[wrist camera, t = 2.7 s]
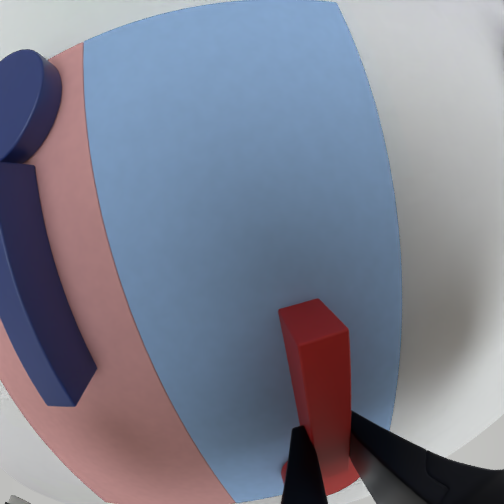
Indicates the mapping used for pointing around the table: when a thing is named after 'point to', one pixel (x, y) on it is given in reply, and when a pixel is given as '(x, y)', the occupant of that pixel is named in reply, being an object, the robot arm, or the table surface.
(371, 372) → the sorting mat
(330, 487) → the red spoon
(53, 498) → the table surface
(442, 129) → the table surface
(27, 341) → the navy spoon
